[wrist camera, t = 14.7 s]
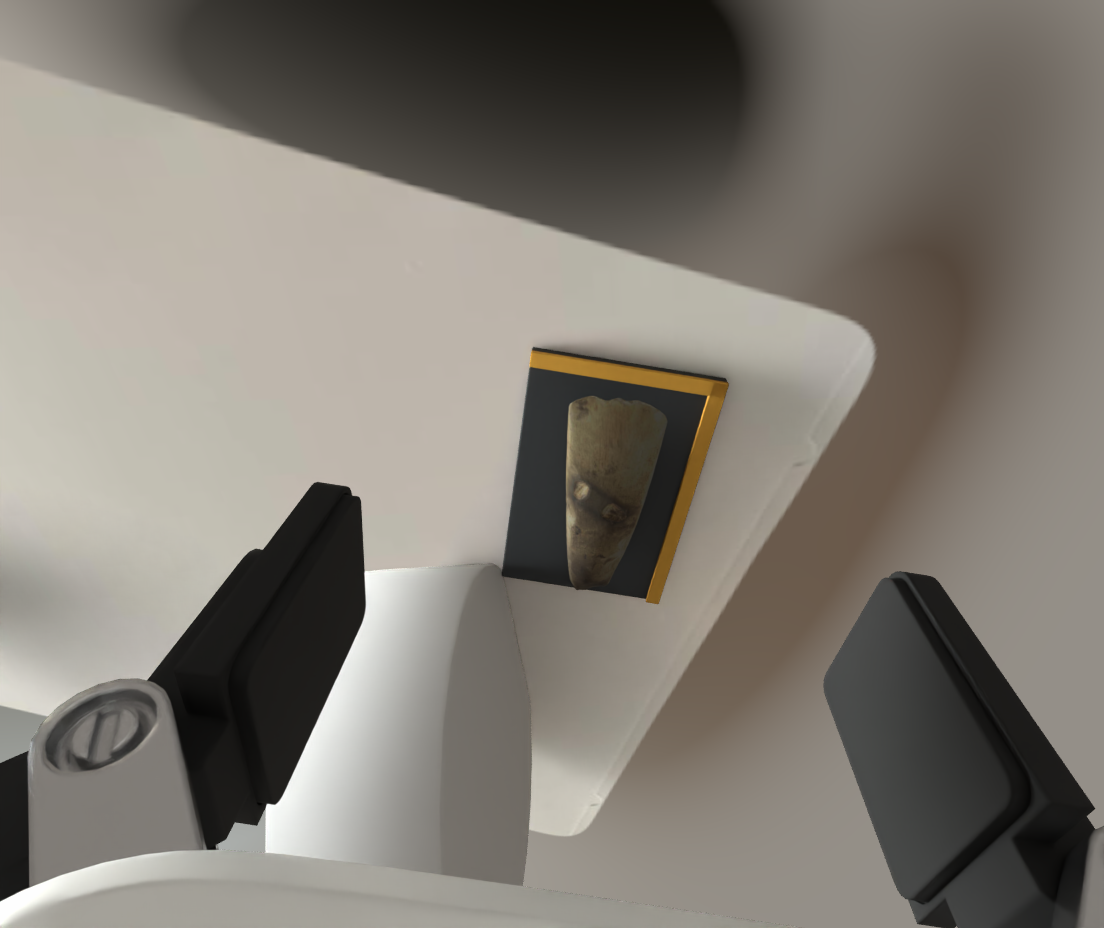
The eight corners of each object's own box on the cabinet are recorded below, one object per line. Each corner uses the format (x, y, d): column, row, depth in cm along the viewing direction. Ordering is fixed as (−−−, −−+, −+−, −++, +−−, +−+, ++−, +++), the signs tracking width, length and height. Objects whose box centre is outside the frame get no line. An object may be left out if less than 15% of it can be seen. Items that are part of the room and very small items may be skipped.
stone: (571, 380, 30) (568, 398, 28) (668, 387, 30) (673, 406, 28) (558, 574, 37) (556, 600, 35) (638, 581, 37) (640, 607, 35)
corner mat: (532, 346, 30) (531, 351, 29) (726, 378, 30) (729, 384, 29) (502, 571, 38) (500, 579, 37) (657, 595, 38) (658, 604, 37)
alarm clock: (371, 522, 36) (168, 879, 19) (489, 514, 35) (388, 881, 18) (445, 741, 47) (357, 1100, 30) (538, 739, 46) (503, 1108, 29)
